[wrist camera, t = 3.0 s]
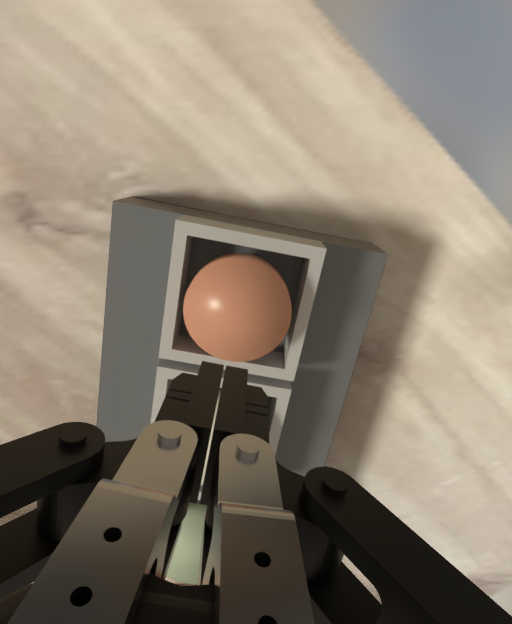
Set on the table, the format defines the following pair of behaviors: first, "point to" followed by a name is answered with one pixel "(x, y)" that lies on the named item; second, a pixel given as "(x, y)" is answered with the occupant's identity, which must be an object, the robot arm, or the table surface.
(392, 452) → the table surface
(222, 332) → the terracotta button
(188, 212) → the button panel
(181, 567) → the sage button
